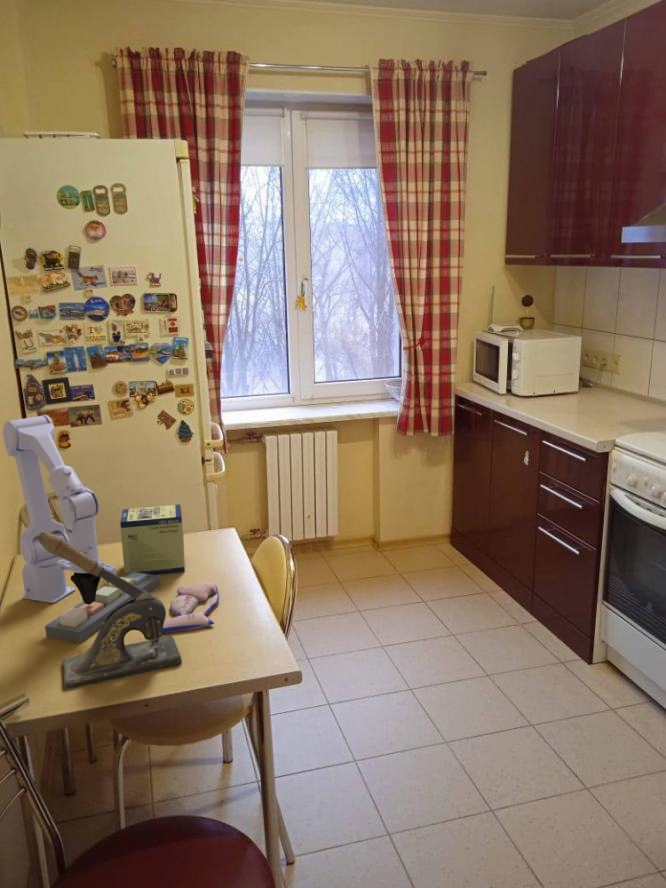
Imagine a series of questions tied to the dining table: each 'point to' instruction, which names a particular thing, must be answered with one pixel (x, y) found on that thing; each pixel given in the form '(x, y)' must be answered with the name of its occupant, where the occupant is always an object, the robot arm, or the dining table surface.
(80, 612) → the key ivory
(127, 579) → the key ochre
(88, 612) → the key terracotta
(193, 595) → the anatomical model
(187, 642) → the dining table surface
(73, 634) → the keypad board
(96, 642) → the embossing press
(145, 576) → the key blue
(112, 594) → the key sage
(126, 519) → the protein powder box
